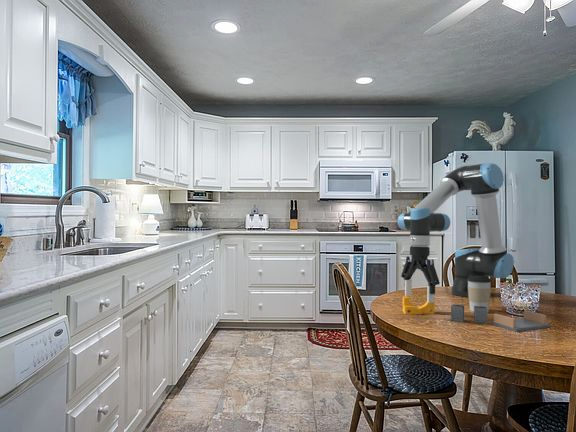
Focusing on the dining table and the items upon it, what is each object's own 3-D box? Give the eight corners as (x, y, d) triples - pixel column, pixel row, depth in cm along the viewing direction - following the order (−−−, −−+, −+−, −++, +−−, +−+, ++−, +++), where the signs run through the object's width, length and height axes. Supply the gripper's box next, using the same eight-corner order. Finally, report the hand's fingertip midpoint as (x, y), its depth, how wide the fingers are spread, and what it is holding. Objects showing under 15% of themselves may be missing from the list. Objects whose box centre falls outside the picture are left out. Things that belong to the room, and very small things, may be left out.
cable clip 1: (451, 320, 146) (451, 305, 146) (452, 318, 148) (452, 304, 148) (462, 322, 143) (462, 307, 143) (464, 320, 146) (464, 305, 146)
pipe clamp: (405, 314, 155) (405, 298, 155) (402, 312, 159) (402, 296, 159) (435, 315, 154) (435, 299, 154) (432, 312, 158) (432, 296, 158)
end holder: (523, 320, 147) (523, 309, 147) (549, 327, 137) (549, 315, 137) (491, 324, 141) (491, 313, 141) (516, 331, 132) (516, 319, 132)
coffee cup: (490, 314, 155) (490, 277, 155) (465, 311, 160) (465, 275, 160) (492, 310, 163) (492, 274, 163) (468, 307, 167) (468, 272, 167)
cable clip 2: (475, 322, 142) (475, 307, 142) (474, 320, 145) (474, 305, 145) (487, 324, 141) (487, 308, 141) (485, 321, 144) (486, 306, 144)
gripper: (393, 244, 166) (392, 293, 166) (433, 248, 143) (433, 306, 142) (407, 243, 169) (407, 292, 168) (450, 248, 145) (449, 304, 145)
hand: (418, 298), depth 155 cm, fingers open, 13 cm apart
